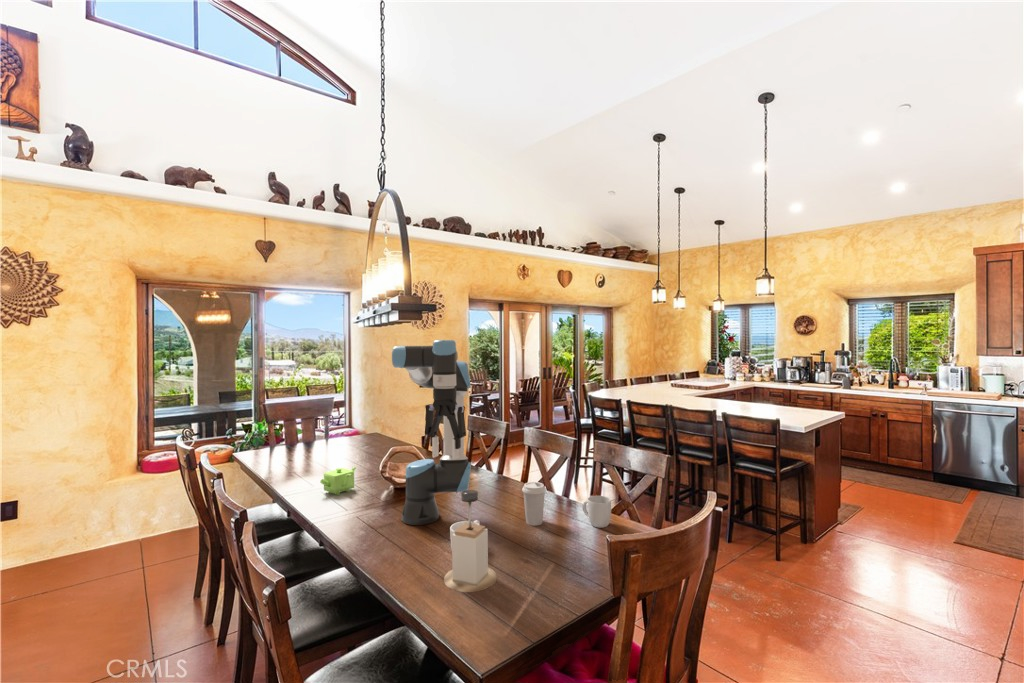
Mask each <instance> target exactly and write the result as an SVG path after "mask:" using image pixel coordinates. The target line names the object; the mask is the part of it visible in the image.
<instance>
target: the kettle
mask: <svg viewBox="0 0 1024 683" xmlns="http://www.w3.org/2000/svg"><path fill="white" fill-rule="evenodd" d="M357 468H358V466H354V467H352V469H348V468H345V467H342V468H341V467H339V468H336V469H334V470H331V471H327V472H323V478H322V479H321V480H320V482H319V483H320V484H322V485H323V490H324V491H326V492H328V494H333V495H335V496H340V494H341V493H342V492H345V493H349V492H350V491H351V490H352V489H354V488H355V471H356V469H357ZM350 489H351V490H350Z"/></svg>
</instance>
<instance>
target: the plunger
mask: <svg viewBox="0 0 1024 683" xmlns="http://www.w3.org/2000/svg"><path fill="white" fill-rule="evenodd" d="M460 493H461V501H462V502H465V503H467V511H468V513H467V517H468V520H467V521H468V530H472V522H473V521H472V519H473V518H472V517H473V516H472V503H474V502H477V501H478V500H479V492H478V491H477V490H475V489H474V490H473V489H467V490H466V491H463V492H460Z"/></svg>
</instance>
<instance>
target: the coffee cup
mask: <svg viewBox="0 0 1024 683" xmlns="http://www.w3.org/2000/svg"><path fill="white" fill-rule="evenodd" d="M521 491H522V492H523V502H524V512H525V513H524V514H525V522H526V524H527V525H529V526H533V527H534V526H540V525H542V524H543V522H544V521H543V519H544V509H545V508H544V507H545V506H544V504H545V495H546V492H547V488H546V486H545V484H544V483H542V482H539V481H528V482H525V483H524V484H523V486H522V489H521Z"/></svg>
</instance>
